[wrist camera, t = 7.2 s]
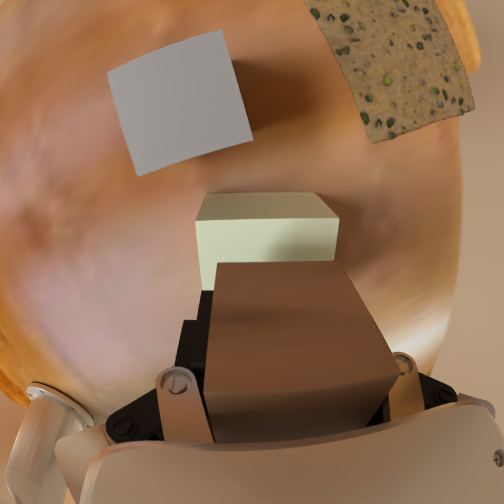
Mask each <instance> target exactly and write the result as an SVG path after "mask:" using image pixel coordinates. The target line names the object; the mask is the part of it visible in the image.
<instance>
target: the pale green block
mask: <svg viewBox="0 0 504 504" xmlns="http://www.w3.org/2000/svg"><path fill="white" fill-rule="evenodd" d="M195 224H196V235H197V245H198V254H199V264H200V272H201V281H202V289H203V290H214V284H215V276H216V268H217V262H289V261H334V256H335V249H336V242H337V235H338V227H339V217H338V216H337V215H336V214H335V213H334V212H333V211H332V210H331V209H330V208H329V207H328V206H327V205H326V204H325V203H324V202H323V201H322V200H321V199H320V198H319V196H318V195H317V194H316V193H311V192H257V193H220V194H206V195H205V198H204V200H203V203H202V205H201V208H200V210H199V213H198V215H197V218H196V220H195Z"/></svg>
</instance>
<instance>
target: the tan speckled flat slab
mask: <svg viewBox="0 0 504 504" xmlns="http://www.w3.org/2000/svg"><path fill="white" fill-rule="evenodd" d="M303 1H304V2H305V3H306V5H307V6H308V8H309V10H310V12H311V14H312V15H313V17H314V18H315V20H316V22H317V23H318V26H319V28H320V30H321V31H322V33H323V34H324V36H325V37H326V39H327V41H328V43H329V45H330V47H331V49H332V52H333V54H334V56H335V58H336V59H337V61H338V63H339V65H340V68H341V70H342V73H343V75H344V77H345V79H346V80H347V82H348V84H349V86H350V89H351V91H352V94H353V97H354V100H355V102H356V105H357V107H358V110H359V112H360V116H361V118H362V120H363V122H364V126H365V129H366V133H367V136H368V138H369V140H370V142H371V143H377V142H380V141H385V140H388V139H394V138H395V137H396V136H397V135H400V134H405V133H406V132H408V131H412V130H415V129H419V128H421V127H423V126H426V125H428V124H431V123H434V122H436V121H439V120H443V119H444V120H445V119H446V118H449V117H454V116H459V115H463V114H464V113H466V112H470V111H472V110H475V104H474V100H473V96H472V92H471V89H470V85H469V82H468V78H467V76H466V72H465V68H464V66H463V64H462V61H461V59H460V56H459V53H458V51H457V48H456V46H455V43H454V41H453V38H452V36H451V34H450V32H449V30H448V27H447V24H446V22H445V21H444V19H443V17H442V15H441V13H440V11H439V9H438V7H437V5H436V3H435V1H434V0H303Z"/></svg>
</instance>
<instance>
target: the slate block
mask: <svg viewBox="0 0 504 504" xmlns="http://www.w3.org/2000/svg"><path fill="white" fill-rule="evenodd" d="M107 76H108V80H109V84H110V88H111V92H112V96H113V99H114V103H115V107H116V110H117V114H118V117H119V120H120V124H121V127H122V130H123V134H124V137H125V140H126V143H127V146H128V149H129V152H130V155H131V158H132V161H133V164H134V167H135V170H136V173H137V176H138V177H139V176H142V175H144V174H147V173H150V172H152V171H155V170H158V169H161V168H163V167H166V166H169V165H172V164H175V163H178V162H181V161H184V160H187V159H190V158H193V157H196V156H199V155H203V154H206V153H209V152H213V151H216V150H219V149H223V148H227V147H230V146H234V145H237V144H241V143H245V142H249V141H253V136H252V133H251V129H250V125H249V122H248V118H247V115H246V111H245V107H244V104H243V100H242V97H241V93H240V90H239V86H238V83H237V79H236V76H235V72H234V69H233V66H232V62H231V59H230V56H229V52H228V49H227V46H226V43H225V39H224V36H223V33H222V30H217V31H213V32H210V33H206V34H203V35H199V36H196V37H193V38H189V39H186V40H183V41H180V42H177V43H174V44H172V45H169V46H166V47H163V48H161V49H158V50H156V51H153V52H151V53H148V54H146V55H143V56H141V57H139V58H137V59H134V60H132V61H130V62H128V63H126V64H124V65H121V66H119V67H117V68H115V69H113V70H111V71H109V72H107Z"/></svg>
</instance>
